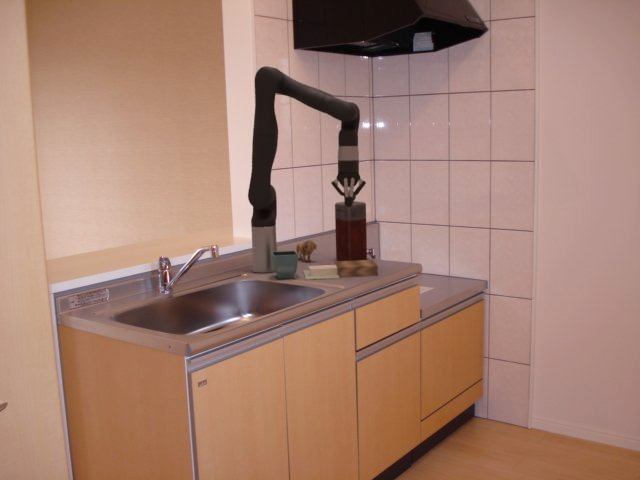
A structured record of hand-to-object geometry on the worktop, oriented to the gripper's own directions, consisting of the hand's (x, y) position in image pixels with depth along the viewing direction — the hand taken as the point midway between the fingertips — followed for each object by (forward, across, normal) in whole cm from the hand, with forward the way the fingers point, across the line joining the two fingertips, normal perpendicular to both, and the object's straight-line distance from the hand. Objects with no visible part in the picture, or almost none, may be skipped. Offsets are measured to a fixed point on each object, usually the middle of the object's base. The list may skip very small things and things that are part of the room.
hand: (348, 207), depth 260 cm
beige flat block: (+24, -10, 0) cm, 26 cm away
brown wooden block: (+24, +3, 0) cm, 24 cm away
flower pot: (+25, -23, -2) cm, 34 cm away
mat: (+24, -10, 0) cm, 27 cm away
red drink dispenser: (+25, +4, +26) cm, 36 cm away
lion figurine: (+25, -14, +30) cm, 41 cm away
